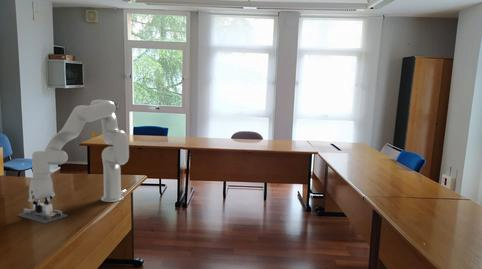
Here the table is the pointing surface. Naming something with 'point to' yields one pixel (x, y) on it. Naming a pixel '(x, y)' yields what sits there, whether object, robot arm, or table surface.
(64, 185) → the table surface
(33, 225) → the table surface
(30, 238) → the table surface
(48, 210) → the tall grey pillar block
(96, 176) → the table surface
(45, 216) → the twin roller tray
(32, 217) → the grey flat plate
